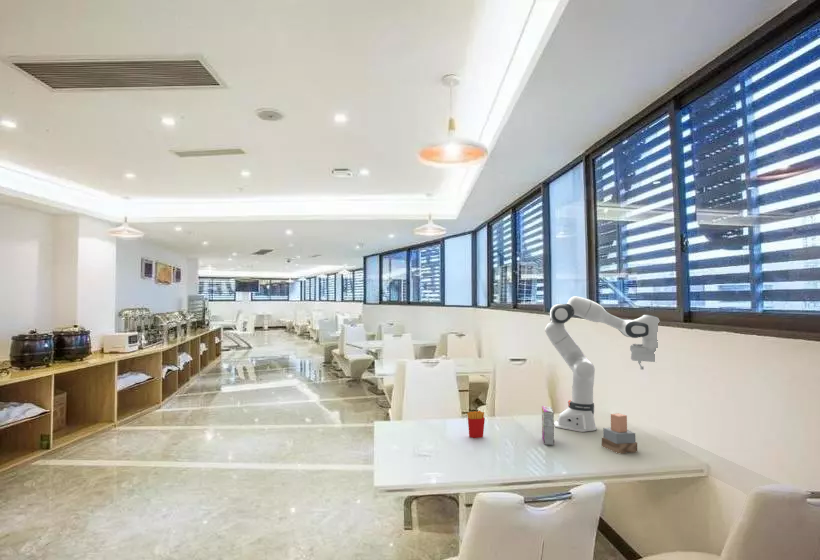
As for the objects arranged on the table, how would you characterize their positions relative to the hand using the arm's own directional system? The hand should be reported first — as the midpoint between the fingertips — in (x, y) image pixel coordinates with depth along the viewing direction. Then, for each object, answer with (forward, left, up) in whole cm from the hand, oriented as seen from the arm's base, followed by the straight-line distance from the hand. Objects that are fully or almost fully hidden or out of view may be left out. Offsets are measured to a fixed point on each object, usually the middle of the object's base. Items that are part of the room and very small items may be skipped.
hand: (651, 370), depth 239 cm
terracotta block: (-17, -36, -25) cm, 47 cm away
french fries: (-85, -48, -34) cm, 103 cm away
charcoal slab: (-17, -36, -30) cm, 50 cm away
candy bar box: (-50, -40, -34) cm, 73 cm away
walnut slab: (-17, -36, -34) cm, 53 cm away
